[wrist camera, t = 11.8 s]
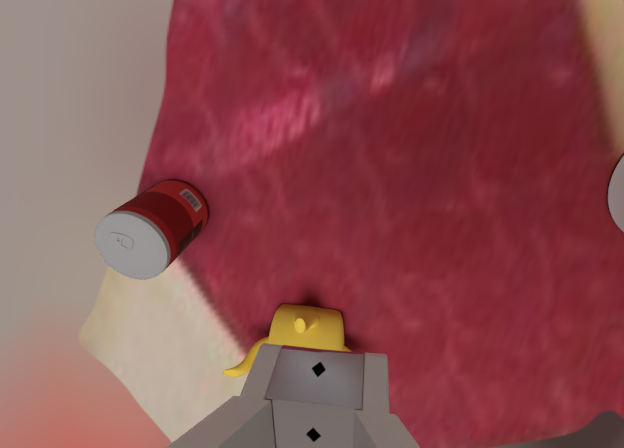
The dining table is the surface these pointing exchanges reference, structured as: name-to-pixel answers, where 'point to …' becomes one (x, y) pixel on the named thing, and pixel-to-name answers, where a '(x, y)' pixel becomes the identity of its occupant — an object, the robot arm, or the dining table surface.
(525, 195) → the dining table surface
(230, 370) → the teapot
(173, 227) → the canned food
